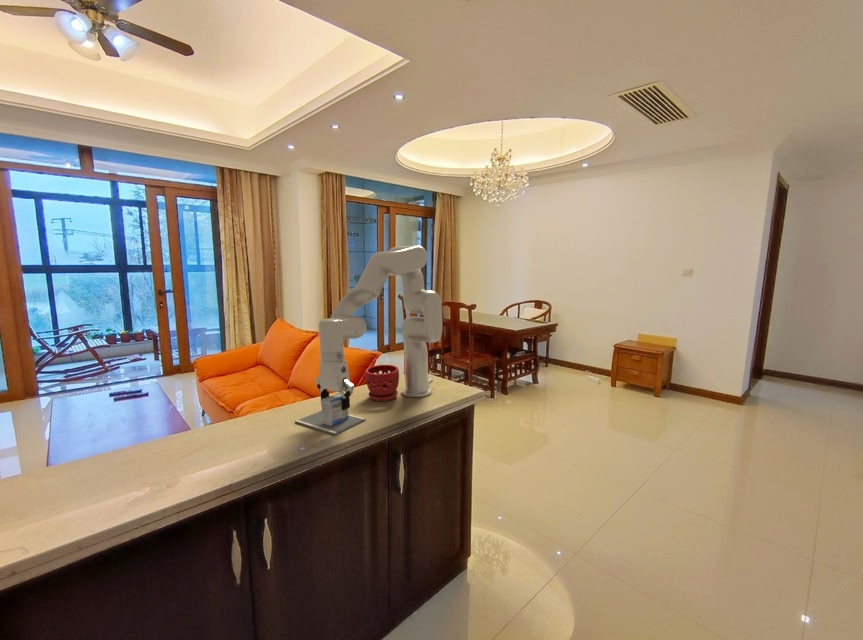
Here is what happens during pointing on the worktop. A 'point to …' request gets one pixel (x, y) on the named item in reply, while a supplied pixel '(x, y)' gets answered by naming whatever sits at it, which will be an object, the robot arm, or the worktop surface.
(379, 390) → the plant pot
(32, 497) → the worktop surface
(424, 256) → the robot arm
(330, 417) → the medicine box
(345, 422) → the mat
